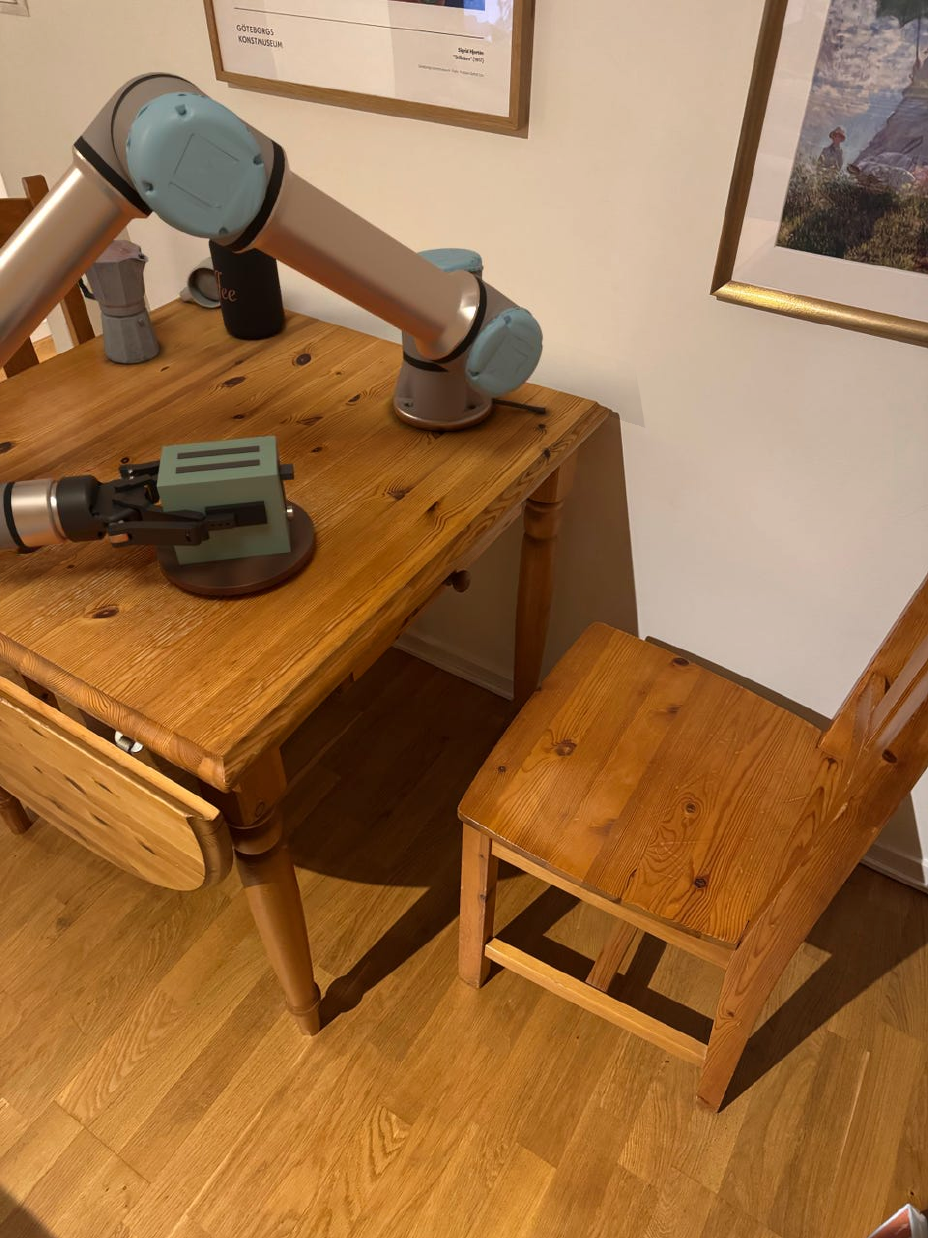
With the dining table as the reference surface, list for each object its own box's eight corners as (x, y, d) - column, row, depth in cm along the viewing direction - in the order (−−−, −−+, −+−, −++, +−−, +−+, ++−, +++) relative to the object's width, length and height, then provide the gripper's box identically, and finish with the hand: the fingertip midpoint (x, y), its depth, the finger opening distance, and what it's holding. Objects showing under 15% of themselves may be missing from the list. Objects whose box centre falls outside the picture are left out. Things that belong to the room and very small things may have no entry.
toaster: (151, 604, 98) (122, 515, 89) (164, 509, 112) (139, 424, 103) (319, 585, 100) (306, 496, 92) (311, 493, 114) (299, 410, 106)
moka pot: (160, 369, 143) (127, 245, 129) (75, 361, 145) (35, 238, 132) (185, 344, 150) (156, 224, 136) (103, 337, 152) (68, 218, 138)
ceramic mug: (242, 291, 167) (234, 250, 162) (231, 308, 161) (222, 266, 156) (188, 291, 167) (178, 250, 162) (175, 308, 161) (165, 266, 156)
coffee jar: (224, 319, 157) (204, 216, 145) (283, 313, 159) (268, 210, 147) (227, 344, 150) (205, 237, 138) (288, 338, 152) (273, 231, 139)
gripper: (86, 486, 109) (268, 468, 112) (60, 595, 93) (271, 570, 96) (67, 434, 104) (258, 416, 107) (36, 539, 88) (261, 515, 91)
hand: (264, 489), depth 101 cm, fingers closed on toaster, 9 cm apart
